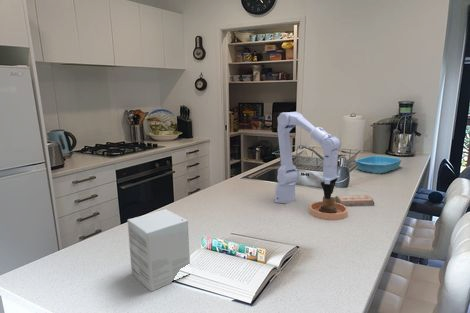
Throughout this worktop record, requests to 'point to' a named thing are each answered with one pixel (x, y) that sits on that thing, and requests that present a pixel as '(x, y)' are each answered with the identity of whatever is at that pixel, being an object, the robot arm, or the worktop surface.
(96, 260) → the worktop surface
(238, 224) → the worktop surface
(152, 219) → the supplement box
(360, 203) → the packaged product
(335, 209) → the hinged hatch frame
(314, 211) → the orange round shallow bowl
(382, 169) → the casserole dish
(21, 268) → the worktop surface
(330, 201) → the wood hatch door
